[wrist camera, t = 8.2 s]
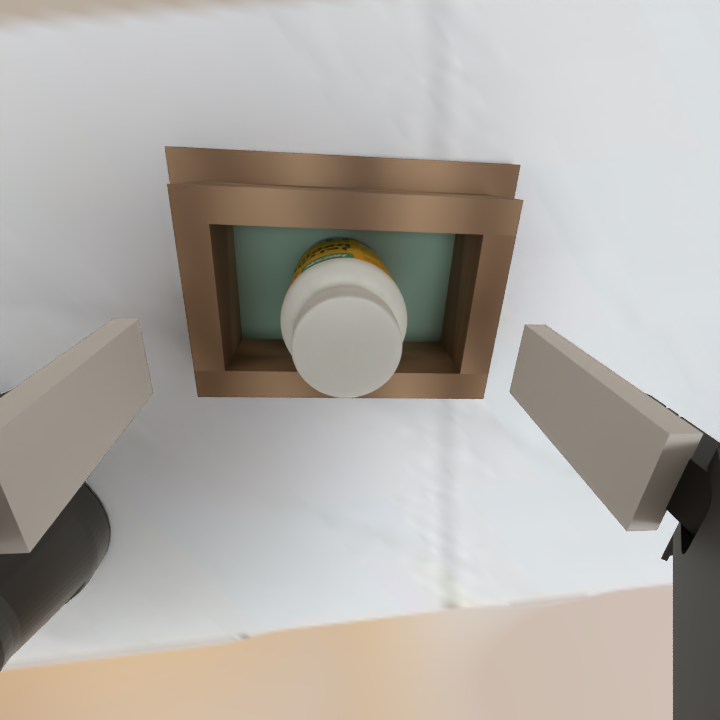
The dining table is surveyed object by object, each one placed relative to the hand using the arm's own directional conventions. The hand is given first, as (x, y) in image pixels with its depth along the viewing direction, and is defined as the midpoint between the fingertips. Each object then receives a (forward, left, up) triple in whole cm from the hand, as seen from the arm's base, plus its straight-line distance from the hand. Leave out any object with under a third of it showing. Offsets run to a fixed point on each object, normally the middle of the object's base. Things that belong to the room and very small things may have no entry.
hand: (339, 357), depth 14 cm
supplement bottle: (0, 0, -10) cm, 10 cm away
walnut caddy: (0, 0, -11) cm, 11 cm away
